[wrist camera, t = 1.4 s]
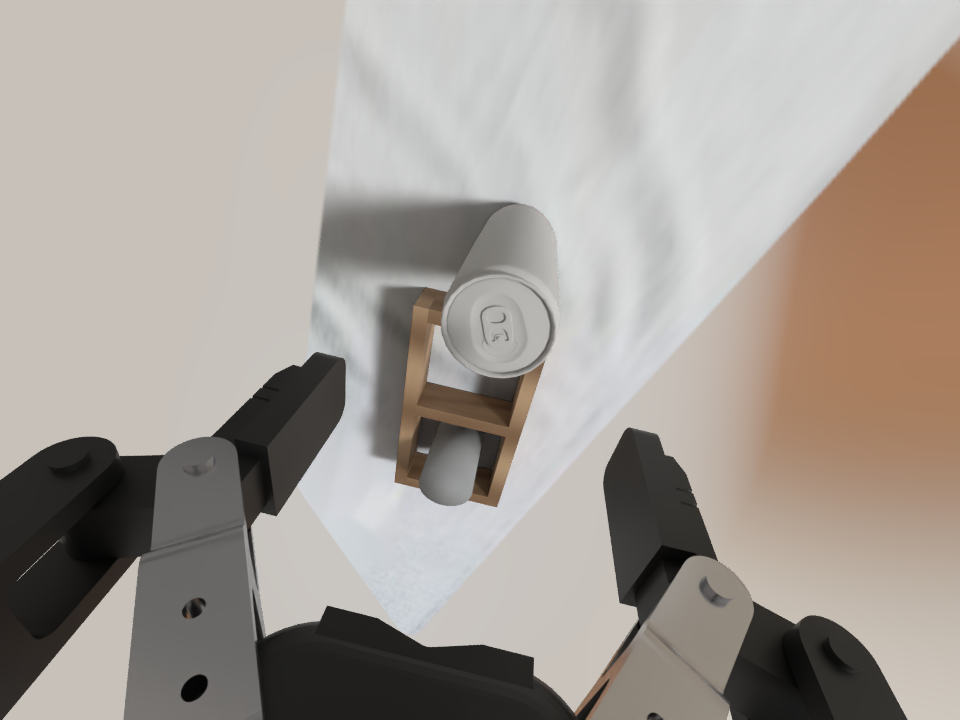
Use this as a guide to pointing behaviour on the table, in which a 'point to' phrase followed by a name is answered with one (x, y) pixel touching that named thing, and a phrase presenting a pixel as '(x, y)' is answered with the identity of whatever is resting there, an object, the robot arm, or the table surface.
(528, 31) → the table surface
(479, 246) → the beverage can
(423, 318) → the rack
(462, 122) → the table surface
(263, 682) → the robot arm
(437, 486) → the stub
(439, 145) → the table surface
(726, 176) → the table surface
